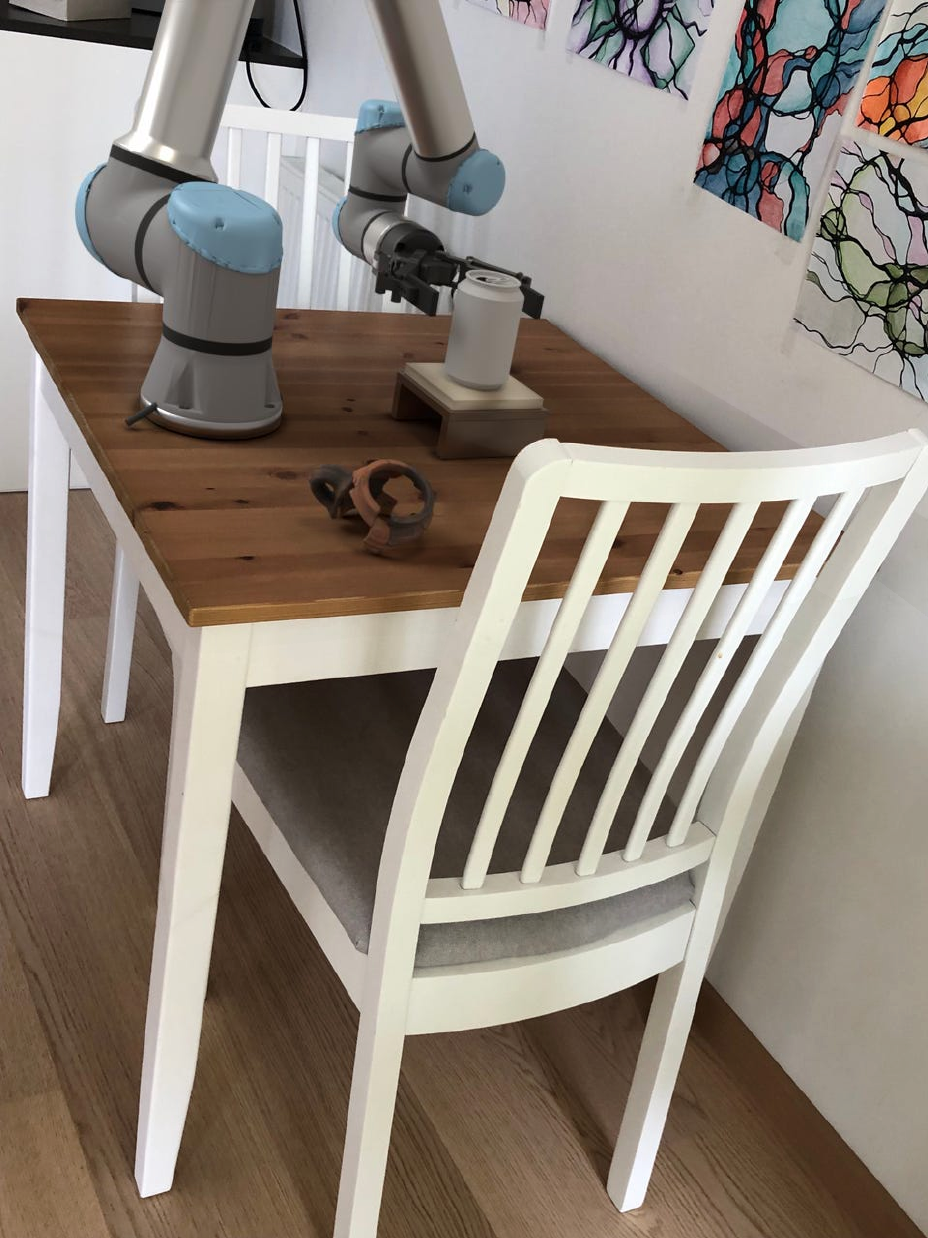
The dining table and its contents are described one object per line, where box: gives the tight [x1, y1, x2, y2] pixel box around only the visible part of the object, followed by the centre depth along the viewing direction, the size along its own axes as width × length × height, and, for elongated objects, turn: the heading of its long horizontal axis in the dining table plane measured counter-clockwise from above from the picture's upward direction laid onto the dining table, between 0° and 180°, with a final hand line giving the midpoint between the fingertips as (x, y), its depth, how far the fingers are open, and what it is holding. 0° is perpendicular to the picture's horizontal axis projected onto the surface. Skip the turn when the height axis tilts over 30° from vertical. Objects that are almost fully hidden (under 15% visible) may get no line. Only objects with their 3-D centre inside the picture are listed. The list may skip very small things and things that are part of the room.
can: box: [444, 270, 524, 389], centre depth 139 cm, size 8×8×12 cm
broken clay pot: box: [308, 458, 436, 554], centre depth 116 cm, size 12×10×8 cm
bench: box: [390, 362, 550, 460], centre depth 143 cm, size 13×13×7 cm
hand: (488, 306), depth 137 cm, fingers open, 13 cm apart
